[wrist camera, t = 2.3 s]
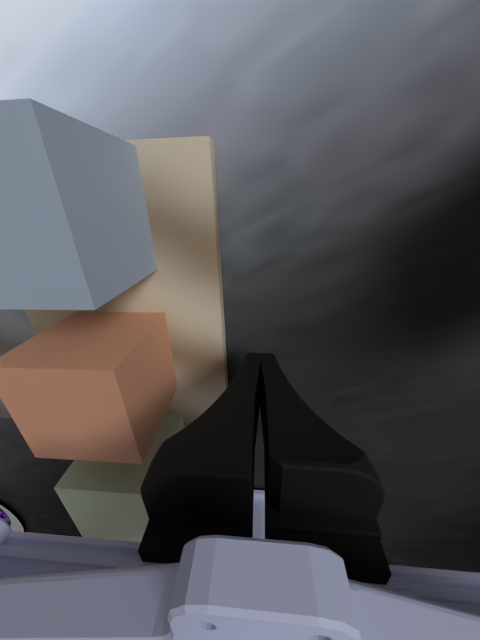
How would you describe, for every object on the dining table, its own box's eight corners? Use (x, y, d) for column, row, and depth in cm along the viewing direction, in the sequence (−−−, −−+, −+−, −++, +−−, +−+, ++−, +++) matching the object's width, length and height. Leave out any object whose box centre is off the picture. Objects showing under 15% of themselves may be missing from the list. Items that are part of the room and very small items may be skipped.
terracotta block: (177, 386, 15) (142, 464, 11) (100, 383, 16) (35, 457, 11) (164, 312, 13) (113, 371, 8) (75, 311, 13) (-18, 367, 9)
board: (232, 454, 19) (230, 466, 18) (-14, 440, 21) (-27, 451, 20) (214, 141, 10) (209, 135, 9) (-207, 161, 12) (-244, 158, 11)
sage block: (190, 462, 18) (167, 547, 14) (126, 458, 19) (84, 539, 14) (182, 413, 16) (151, 495, 12) (109, 410, 17) (53, 488, 12)
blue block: (157, 269, 12) (95, 310, 7) (61, 269, 12) (-53, 308, 8) (135, 145, 10) (30, 98, 5) (20, 151, 10) (-169, 111, 6)
